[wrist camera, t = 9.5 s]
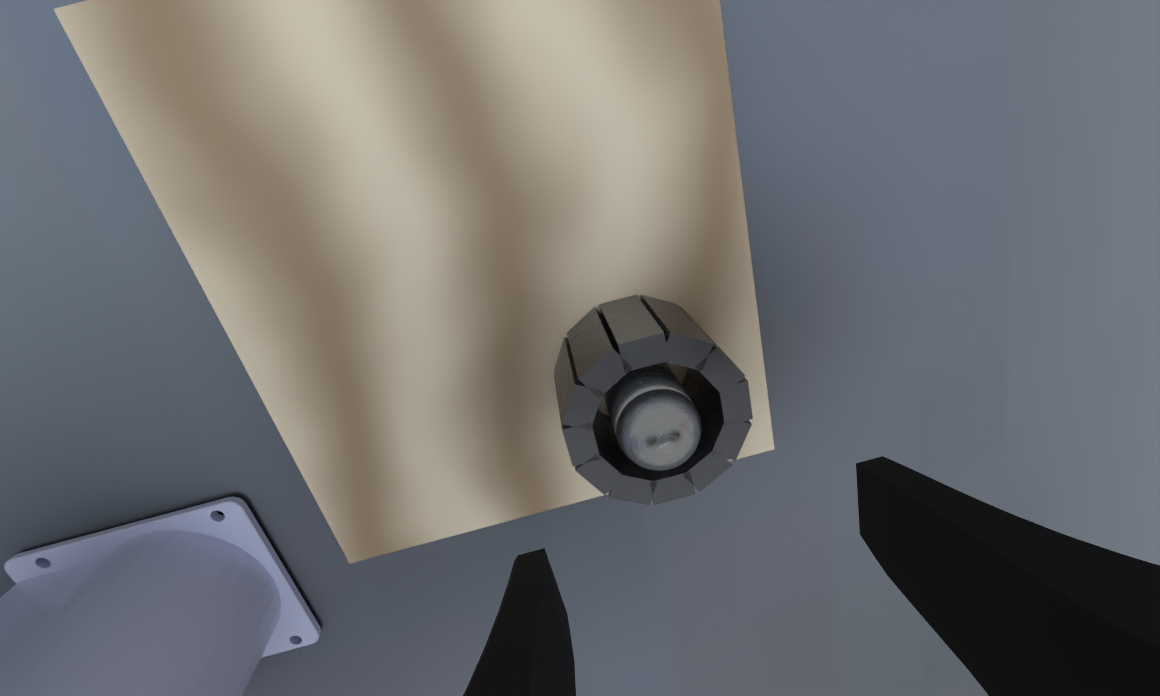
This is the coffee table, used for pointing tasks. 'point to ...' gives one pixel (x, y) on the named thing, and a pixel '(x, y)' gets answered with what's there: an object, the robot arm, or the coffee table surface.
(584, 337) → the ring
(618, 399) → the post
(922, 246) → the coffee table surface
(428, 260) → the board
